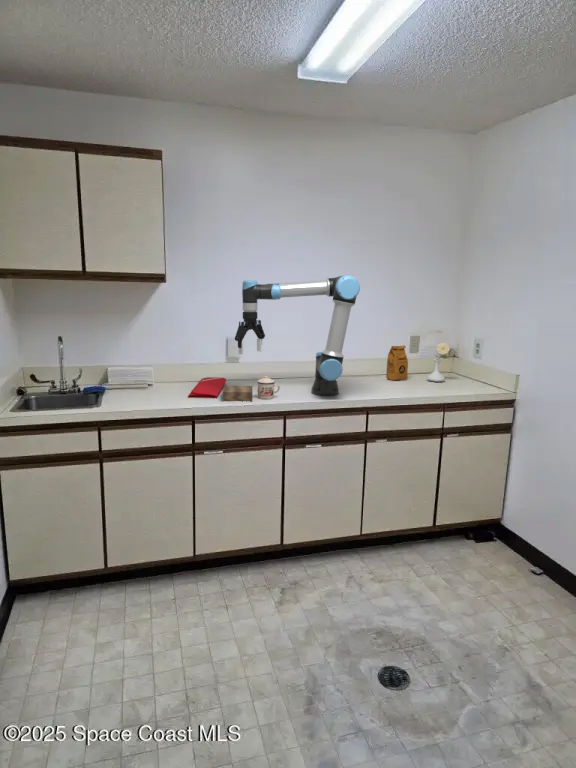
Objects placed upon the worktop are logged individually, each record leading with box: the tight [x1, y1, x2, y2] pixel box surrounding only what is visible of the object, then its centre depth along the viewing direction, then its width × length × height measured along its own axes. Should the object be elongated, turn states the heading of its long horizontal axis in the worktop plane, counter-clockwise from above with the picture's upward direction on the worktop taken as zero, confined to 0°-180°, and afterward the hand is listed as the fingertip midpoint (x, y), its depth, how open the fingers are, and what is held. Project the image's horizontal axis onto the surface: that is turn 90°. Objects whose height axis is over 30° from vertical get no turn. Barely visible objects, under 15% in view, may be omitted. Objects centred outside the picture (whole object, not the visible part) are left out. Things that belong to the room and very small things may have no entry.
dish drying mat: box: [187, 376, 227, 399], centre depth 285 cm, size 16×41×4 cm, turn 0°
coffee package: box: [385, 345, 409, 381], centre depth 325 cm, size 10×12×22 cm
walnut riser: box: [222, 385, 254, 403], centre depth 266 cm, size 15×15×5 cm
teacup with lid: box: [257, 375, 281, 400], centre depth 269 cm, size 12×9×12 cm
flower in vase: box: [426, 342, 451, 383], centre depth 323 cm, size 13×11×25 cm
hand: (250, 352), depth 264 cm, fingers open, 13 cm apart
